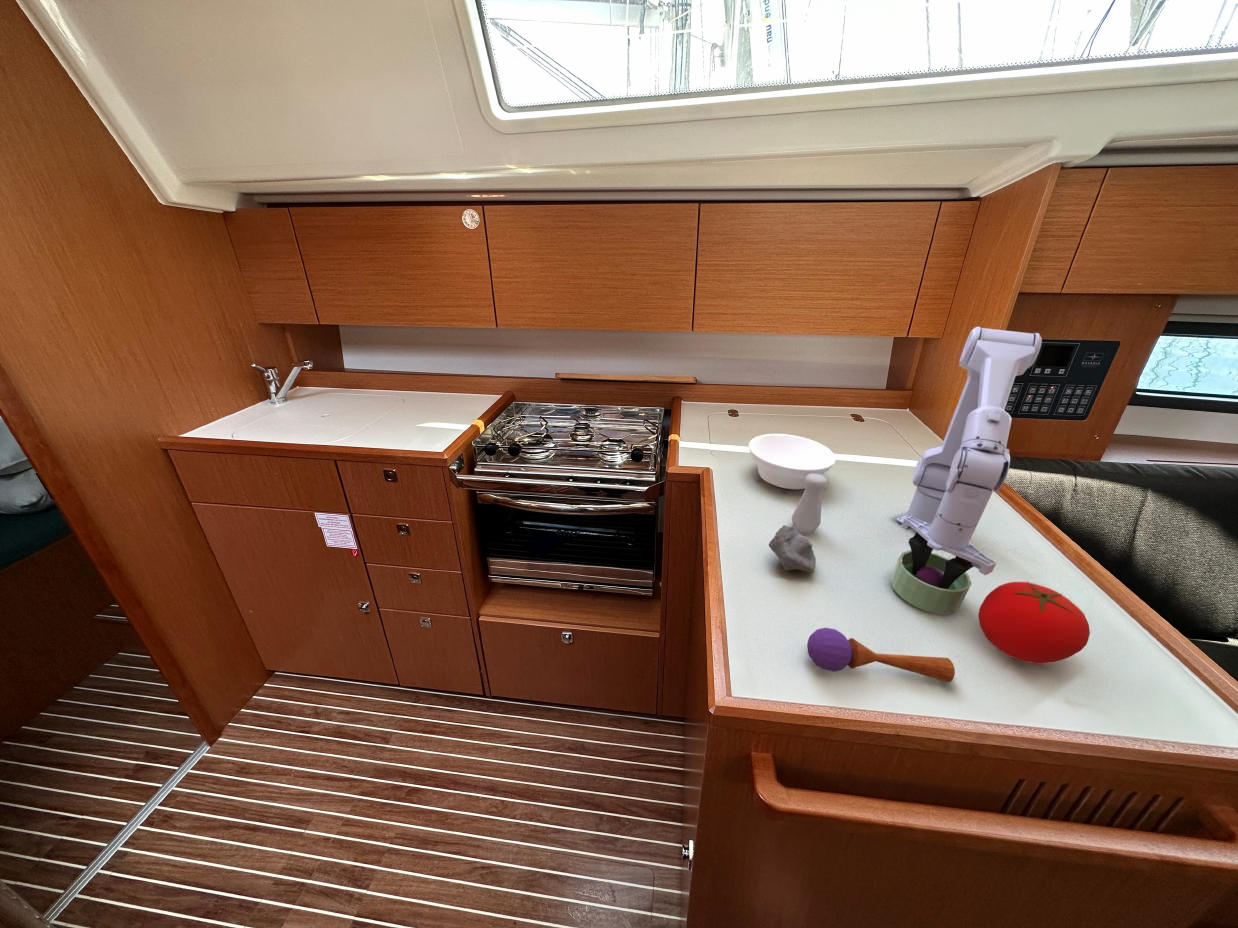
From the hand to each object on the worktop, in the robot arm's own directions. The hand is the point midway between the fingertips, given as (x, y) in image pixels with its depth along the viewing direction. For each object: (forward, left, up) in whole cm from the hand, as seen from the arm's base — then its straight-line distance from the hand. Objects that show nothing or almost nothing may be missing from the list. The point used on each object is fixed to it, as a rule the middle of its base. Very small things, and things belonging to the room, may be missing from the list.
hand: (929, 580), depth 84 cm
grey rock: (+17, -16, -3) cm, 24 cm away
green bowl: (0, 0, -3) cm, 3 cm away
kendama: (+23, +7, -3) cm, 24 cm away
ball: (0, 0, +1) cm, 1 cm away
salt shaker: (+5, -24, -3) cm, 25 cm away
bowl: (-8, -43, -3) cm, 44 cm away
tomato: (-2, +14, -3) cm, 14 cm away
